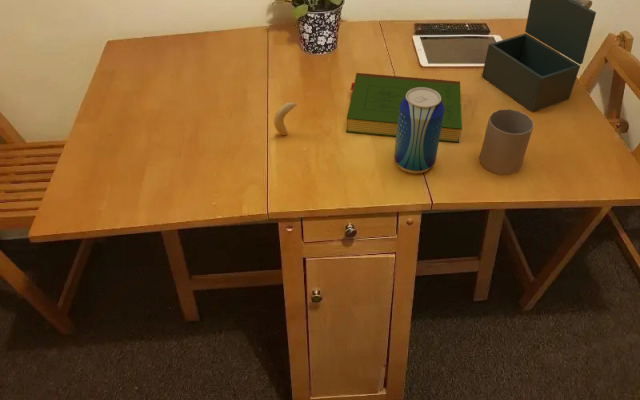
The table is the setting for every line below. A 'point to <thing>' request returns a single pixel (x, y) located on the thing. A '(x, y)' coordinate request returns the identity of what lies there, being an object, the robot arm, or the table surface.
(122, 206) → the table surface
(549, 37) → the lid
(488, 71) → the chest
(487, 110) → the table surface
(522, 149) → the cup
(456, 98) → the hardcover book
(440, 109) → the beer can
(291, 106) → the fruit
